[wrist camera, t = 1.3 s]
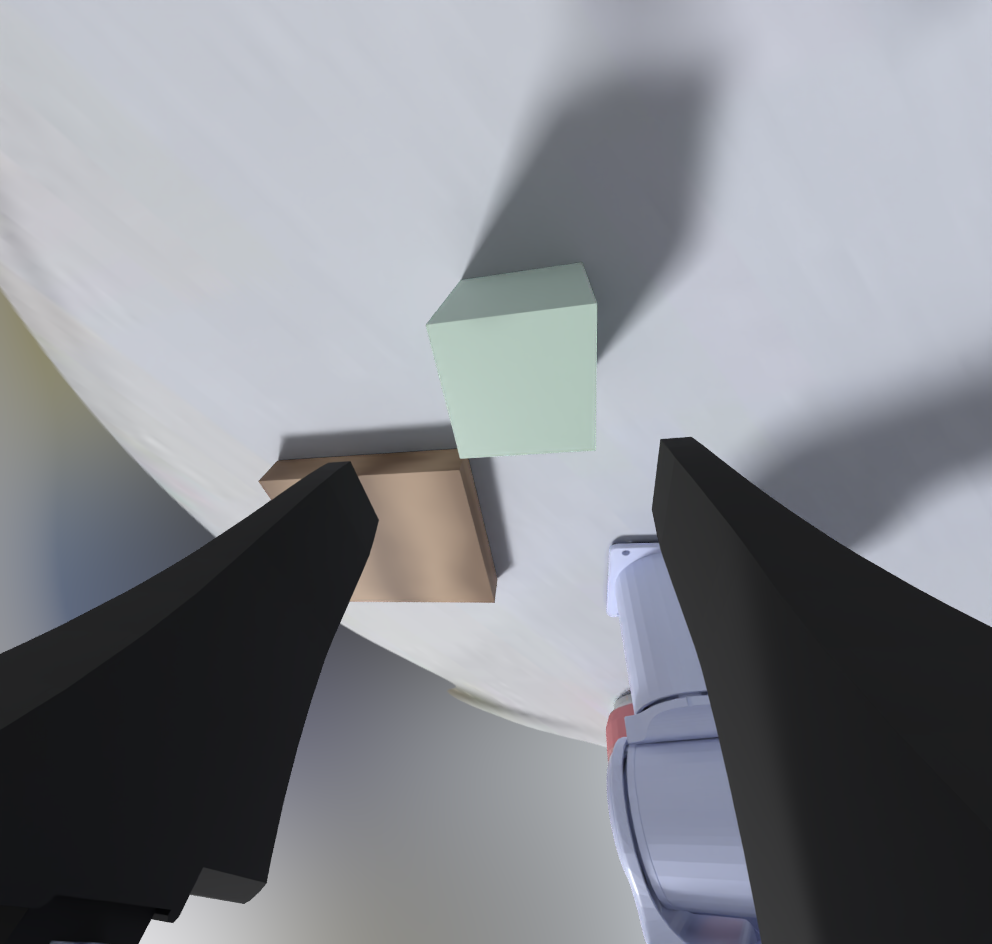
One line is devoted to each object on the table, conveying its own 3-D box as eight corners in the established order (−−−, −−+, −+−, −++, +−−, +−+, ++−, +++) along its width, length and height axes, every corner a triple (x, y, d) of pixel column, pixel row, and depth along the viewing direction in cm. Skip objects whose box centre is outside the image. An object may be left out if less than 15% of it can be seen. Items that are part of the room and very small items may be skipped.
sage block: (582, 261, 15) (597, 303, 11) (583, 378, 18) (595, 450, 14) (461, 279, 16) (425, 324, 11) (481, 387, 19) (460, 458, 14)
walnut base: (465, 448, 21) (459, 470, 20) (497, 579, 29) (494, 602, 27) (277, 460, 24) (258, 481, 22) (351, 579, 31) (340, 601, 29)
